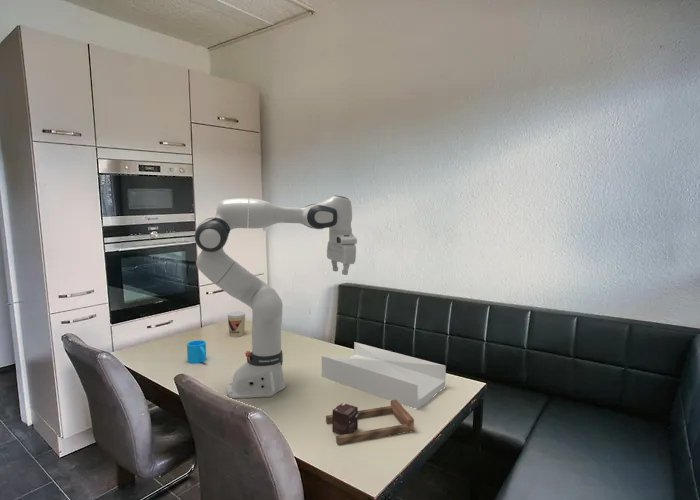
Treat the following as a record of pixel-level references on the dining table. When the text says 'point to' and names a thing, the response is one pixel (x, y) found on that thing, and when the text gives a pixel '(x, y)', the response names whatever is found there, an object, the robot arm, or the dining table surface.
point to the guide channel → (376, 433)
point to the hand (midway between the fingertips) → (340, 272)
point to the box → (344, 419)
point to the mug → (196, 351)
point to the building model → (387, 374)
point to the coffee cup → (236, 324)
